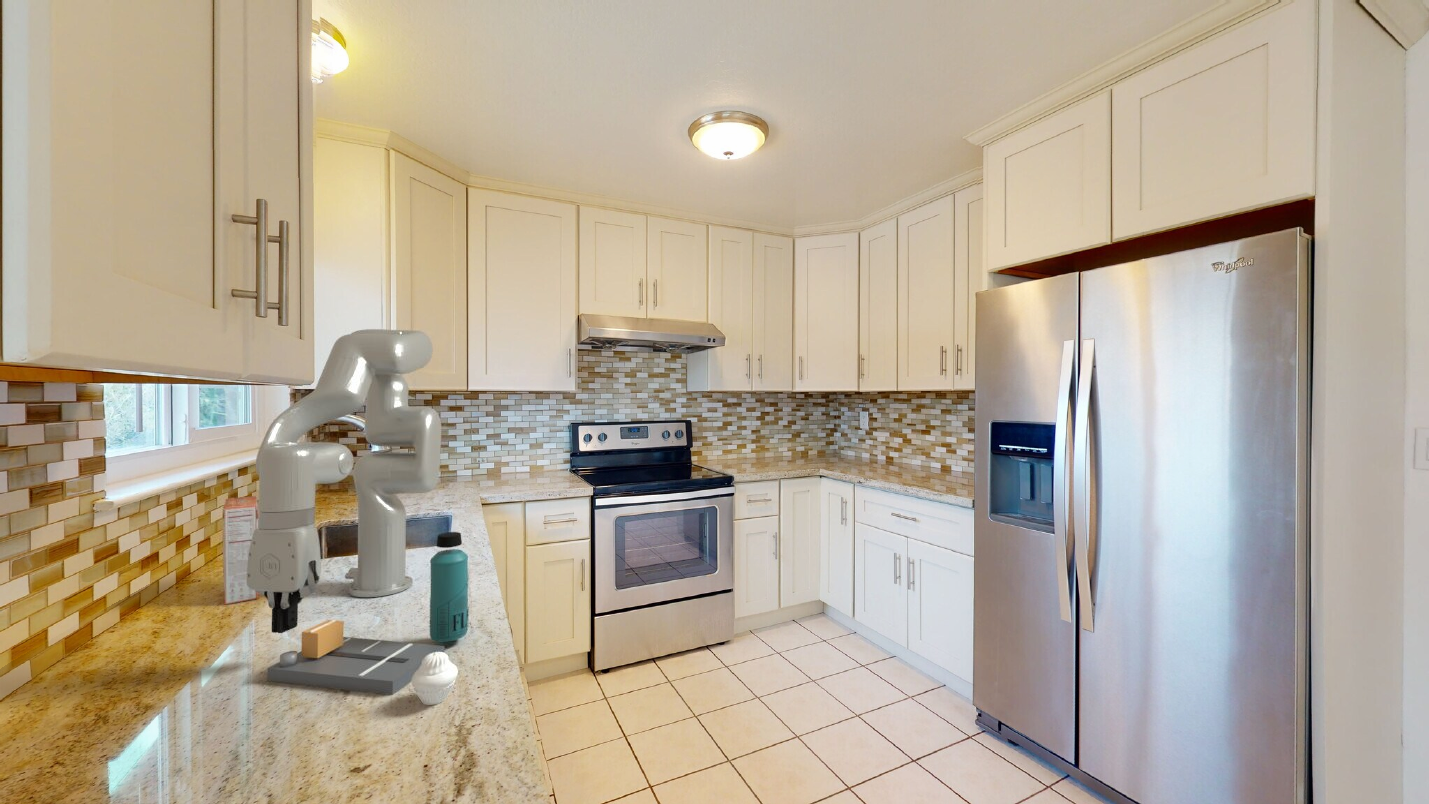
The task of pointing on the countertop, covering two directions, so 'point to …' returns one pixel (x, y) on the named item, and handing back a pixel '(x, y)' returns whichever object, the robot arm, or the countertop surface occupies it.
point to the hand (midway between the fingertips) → (284, 629)
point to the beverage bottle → (449, 590)
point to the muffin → (434, 678)
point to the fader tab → (322, 638)
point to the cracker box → (238, 547)
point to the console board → (355, 666)
